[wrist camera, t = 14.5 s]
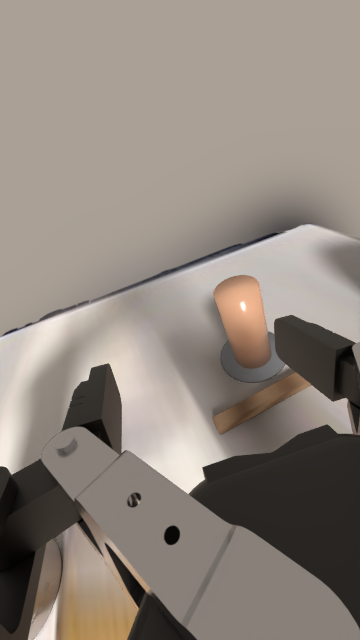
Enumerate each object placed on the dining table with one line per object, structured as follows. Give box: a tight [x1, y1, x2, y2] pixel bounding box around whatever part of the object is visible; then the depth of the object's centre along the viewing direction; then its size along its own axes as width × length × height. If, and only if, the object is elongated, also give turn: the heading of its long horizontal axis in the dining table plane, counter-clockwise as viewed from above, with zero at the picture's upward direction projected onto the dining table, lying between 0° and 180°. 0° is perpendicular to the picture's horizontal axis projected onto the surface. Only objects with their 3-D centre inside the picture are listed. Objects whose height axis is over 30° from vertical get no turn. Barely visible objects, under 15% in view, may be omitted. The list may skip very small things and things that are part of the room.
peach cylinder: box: [214, 275, 272, 369], centre depth 34 cm, size 6×6×13 cm
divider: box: [212, 372, 311, 434], centre depth 32 cm, size 20×2×2 cm, turn 110°
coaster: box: [221, 332, 285, 383], centre depth 39 cm, size 10×10×1 cm
